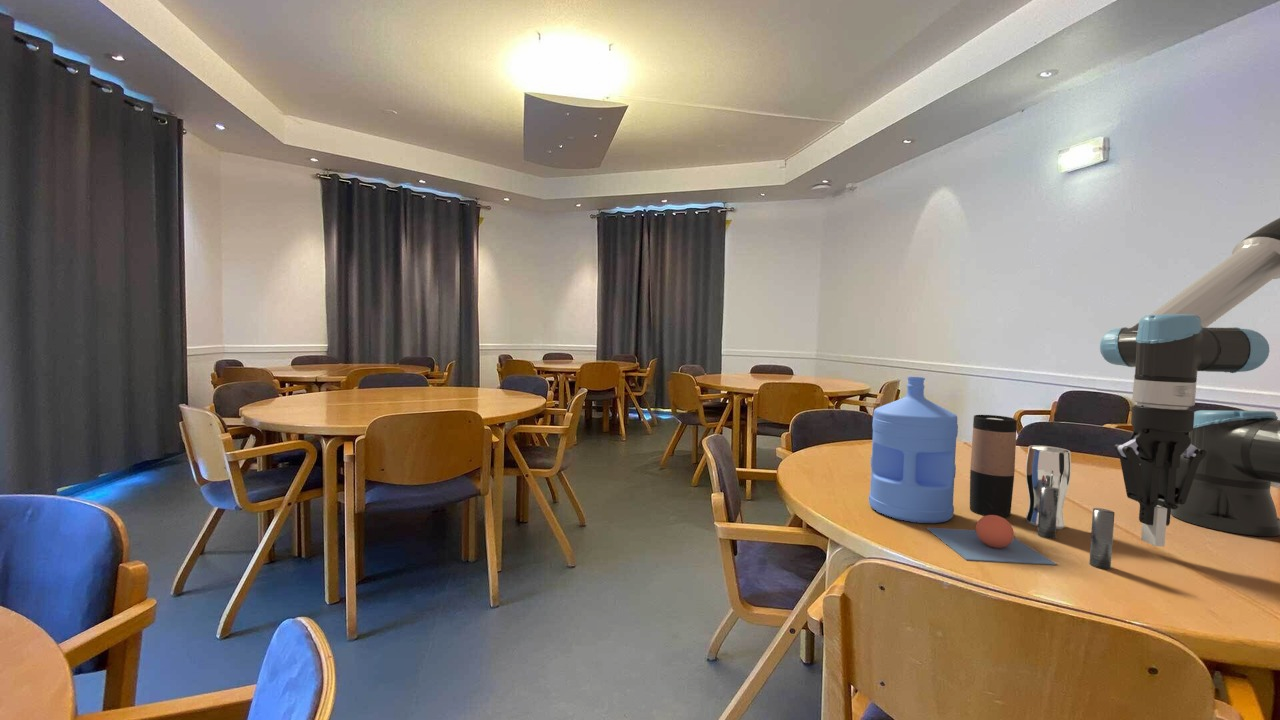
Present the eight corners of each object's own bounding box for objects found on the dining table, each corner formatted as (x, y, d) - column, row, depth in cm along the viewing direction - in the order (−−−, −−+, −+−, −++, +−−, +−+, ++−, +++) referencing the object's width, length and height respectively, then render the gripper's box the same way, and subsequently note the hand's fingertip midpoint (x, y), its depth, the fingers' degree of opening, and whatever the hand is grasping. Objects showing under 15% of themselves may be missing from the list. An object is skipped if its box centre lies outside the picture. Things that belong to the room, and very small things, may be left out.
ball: (962, 528, 95) (988, 547, 95) (980, 540, 89) (1007, 559, 89) (982, 504, 95) (1007, 522, 94) (1001, 514, 89) (1028, 533, 89)
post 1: (1048, 533, 99) (1051, 486, 98) (1058, 539, 96) (1061, 490, 96) (1034, 532, 99) (1037, 485, 99) (1043, 538, 97) (1046, 489, 96)
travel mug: (959, 507, 113) (964, 415, 112) (986, 505, 115) (991, 414, 114) (992, 520, 106) (998, 421, 105) (1021, 516, 108) (1026, 419, 107)
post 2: (1102, 562, 86) (1105, 508, 86) (1115, 569, 84) (1118, 513, 83) (1085, 561, 87) (1088, 507, 86) (1097, 568, 84) (1101, 513, 84)
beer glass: (1023, 515, 109) (1028, 443, 108) (1067, 523, 105) (1072, 448, 104) (1021, 524, 104) (1025, 448, 103) (1067, 533, 99) (1072, 454, 98)
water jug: (873, 495, 121) (879, 373, 119) (953, 508, 113) (960, 377, 111) (863, 514, 107) (869, 377, 106) (953, 531, 99) (961, 382, 98)
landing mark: (1004, 532, 99) (1004, 531, 99) (1057, 565, 85) (1057, 563, 85) (926, 528, 100) (926, 527, 100) (966, 560, 86) (966, 559, 86)
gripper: (1140, 407, 86) (1130, 550, 87) (1227, 410, 85) (1215, 554, 86) (1103, 401, 93) (1095, 532, 95) (1183, 404, 92) (1173, 536, 94)
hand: (1152, 543), depth 90 cm, fingers closed
